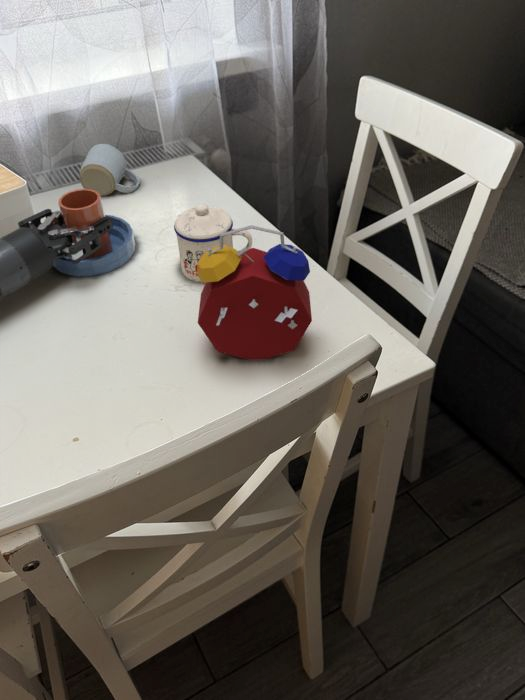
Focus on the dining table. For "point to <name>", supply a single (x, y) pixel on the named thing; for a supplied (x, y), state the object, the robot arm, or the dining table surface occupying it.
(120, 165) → the ceramic mug
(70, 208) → the cup
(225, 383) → the dining table surface
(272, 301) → the alarm clock
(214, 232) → the teacup with lid
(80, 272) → the bowl
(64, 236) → the robot arm
